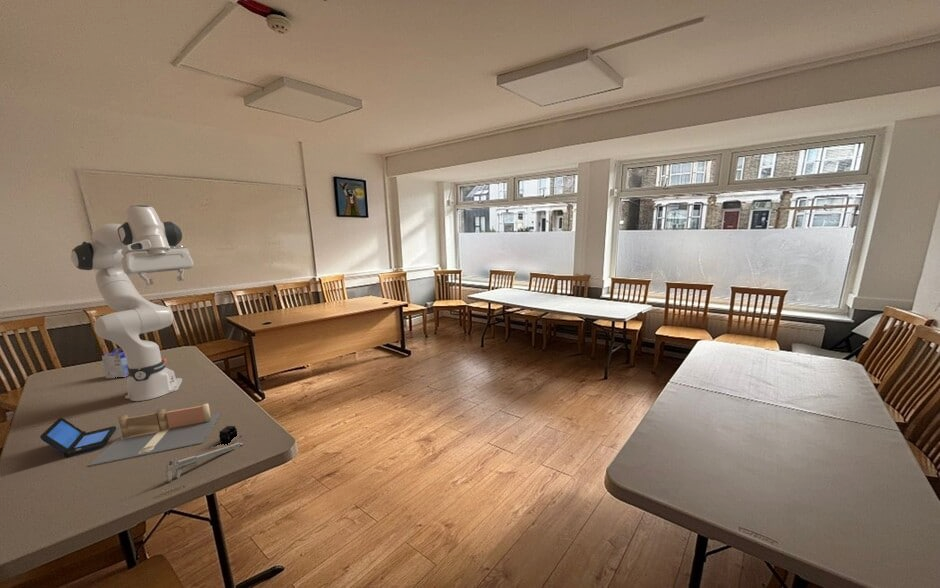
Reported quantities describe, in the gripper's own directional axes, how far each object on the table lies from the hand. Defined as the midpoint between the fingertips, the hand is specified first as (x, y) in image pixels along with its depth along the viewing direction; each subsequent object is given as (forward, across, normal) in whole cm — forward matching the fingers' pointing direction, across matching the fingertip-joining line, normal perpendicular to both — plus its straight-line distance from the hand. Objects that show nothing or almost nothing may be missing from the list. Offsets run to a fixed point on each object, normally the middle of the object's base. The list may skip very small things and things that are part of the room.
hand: (166, 282), depth 133 cm
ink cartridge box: (+23, -2, -94) cm, 97 cm away
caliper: (+63, +13, +23) cm, 69 cm away
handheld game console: (+47, +28, -25) cm, 60 cm away
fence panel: (+52, +5, -5) cm, 53 cm away
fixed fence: (+50, +15, -13) cm, 54 cm away
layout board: (+53, +14, -6) cm, 55 cm away
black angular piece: (+61, +4, +16) cm, 64 cm away
